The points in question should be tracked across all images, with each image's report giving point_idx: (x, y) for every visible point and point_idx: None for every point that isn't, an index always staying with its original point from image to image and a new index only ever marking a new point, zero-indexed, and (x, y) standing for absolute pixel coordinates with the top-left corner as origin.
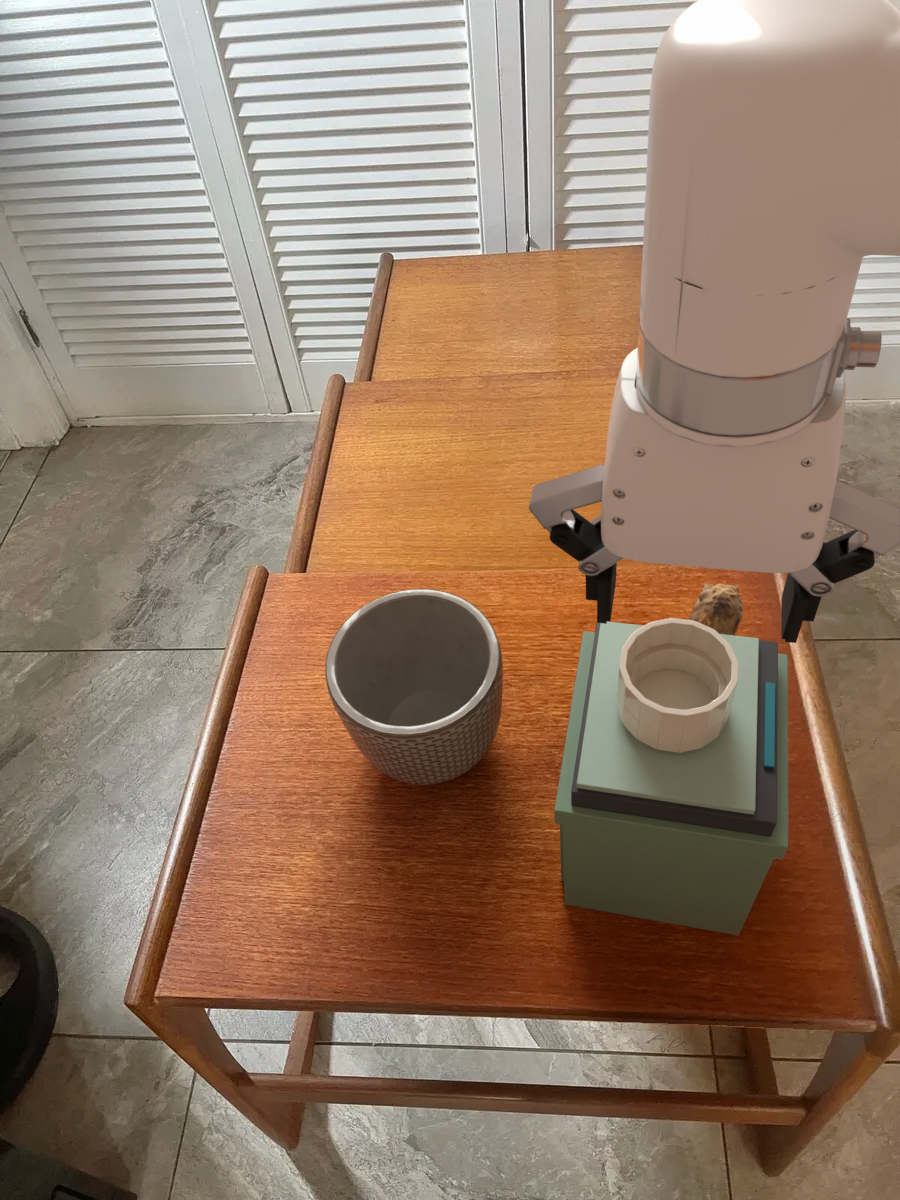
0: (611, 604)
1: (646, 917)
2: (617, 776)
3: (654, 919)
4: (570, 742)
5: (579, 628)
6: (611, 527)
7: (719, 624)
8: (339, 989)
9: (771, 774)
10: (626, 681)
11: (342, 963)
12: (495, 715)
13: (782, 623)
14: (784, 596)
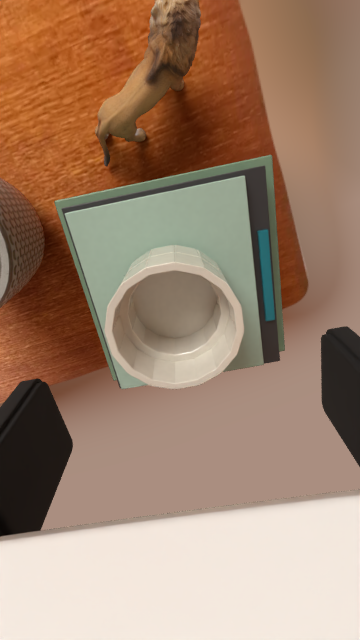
0: (59, 458)
1: None
2: None
3: None
4: (99, 326)
5: (53, 66)
6: None
7: (181, 49)
8: (51, 383)
9: (272, 323)
10: (126, 369)
11: (44, 373)
12: (31, 244)
13: (325, 391)
14: (334, 366)
